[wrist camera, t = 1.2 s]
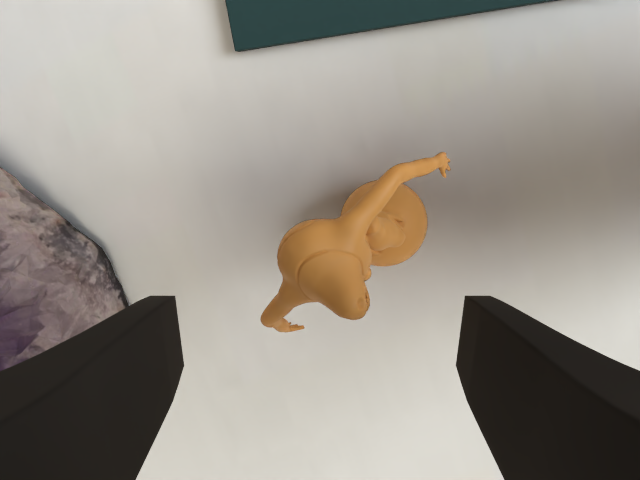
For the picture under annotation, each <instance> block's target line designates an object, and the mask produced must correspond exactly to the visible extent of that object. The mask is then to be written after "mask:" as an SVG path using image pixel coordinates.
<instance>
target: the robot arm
mask: <svg viewBox="0 0 640 480" xmlns="http://www.w3.org/2000/svg"><path fill="white" fill-rule="evenodd" d="M183 367H184V362H183V354H182V346H181V338H180V331H179V323H178V315H177V308H176V300H175V296H149V297H147V298H144V299H142V300H140V301H138V302H136V303H134V304H132V305H130V306H128V307H126V308H125V309H123V310H121V311H119V312H117V313H116V314H114V315H112V316H110V317H108V318H107V319H105V320H103V321H101V322H99V323H98V324H96V325H94V326H92V327H90V328H89V329H87V330H85V331H83V332H81V333H79V334H77V335H75V336H73V337H71V338H69V339H68V340H66V341H64V342H62V343H60V344H58V345H56V346H54V347H52V348H50V349H48V350H46V351H44V352H42V353H40V354H38V355H36V356H34V357H32V358H29V359H27V360H25V361H23V362H21V363H18V364H16V365H14V366H11V367H9V368H7V369H4V370H2V371H0V480H136V478H137V476H138V473H139V471H140V469H141V467H142V465H143V463H144V461H145V459H146V457H147V455H148V453H149V451H150V448H151V446H152V444H153V442H154V440H155V438H156V436H157V434H158V432H159V430H160V428H161V425H162V423H163V421H164V419H165V417H166V415H167V413H168V410H169V408H170V406H171V404H172V402H173V399H174V396H175V393H176V390H177V387H178V384H179V380H180V377H181V374H182V370H183ZM456 367H457V370H458V374H459V377H460V380H461V384H462V387H463V390H464V393H465V396H466V399H467V402H468V404H469V406H470V408H471V410H472V413H473V415H474V417H475V419H476V421H477V423H478V425H479V427H480V430H481V432H482V434H483V436H484V438H485V440H486V442H487V444H488V446H489V448H490V450H491V453H492V455H493V457H494V459H495V461H496V463H497V465H498V467H499V469H500V471H501V473H502V475H503V478H504V480H640V371H639V370H636V369H634V368H631V367H629V366H627V365H624V364H622V363H620V362H618V361H615V360H613V359H611V358H609V357H607V356H605V355H603V354H601V353H598V352H596V351H594V350H592V349H590V348H588V347H586V346H584V345H582V344H580V343H578V342H576V341H574V340H572V339H571V338H569V337H567V336H565V335H563V334H561V333H559V332H557V331H555V330H554V329H552V328H550V327H548V326H546V325H545V324H543V323H541V322H539V321H537V320H536V319H534V318H532V317H530V316H528V315H527V314H525V313H523V312H521V311H519V310H518V309H516V308H514V307H512V306H510V305H508V304H506V303H504V302H503V301H501V300H498V299H496V298H494V297H491V296H465V300H464V308H463V316H462V323H461V331H460V339H459V346H458V354H457V362H456Z"/></svg>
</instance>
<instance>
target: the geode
mask: <svg viewBox="0 0 640 480" xmlns="http://www.w3.org/2000/svg"><path fill="white" fill-rule="evenodd" d="M126 307H128V304H127V302H126V299H125V296H124V292H123V289H122V286H121V284H120V283H119V281H118V280H117V278H116V277H115V274H114V271H113V268H112V266H111V263H110V261H109V260H108V258H107V256H106V255H105V253H104V251H103V250H102V248H101V247H100V246H99V245H97V244H96V243H95V242H94V241H92V240H91V239H90V238H88V237H87V236H85V235H84V234H83V233H81V232H80V231H79V230H77V229H76V228H74V227H73V226H72V225H71V224H70V223H69V222H68V221H67V220H66V219H64V218H63V217H62V216H61V215H59V214H58V213H57V212H55V211H54V210H53V209H52V208H50V207H49V206H48V205H46V204H45V203H44V202H42V201H41V200H39V199H38V198H37V197H36V196H34V195H33V194H32V193H31V192H29V191H28V190H27V189H25V188H24V187H23V186H22V185H21V184H20V183H19V181H18V180H17V179H16V178H15V177H14V176H12V175H11V174H9V173H8V172H6V171H5V170H3V169H2V168H1V167H0V371H2V370H4V369H7V368H9V367H11V366H14V365H16V364H18V363H21V362H23V361H25V360H27V359H29V358H32V357H34V356H36V355H38V354H40V353H42V352H44V351H46V350H48V349H50V348H52V347H54V346H56V345H58V344H60V343H62V342H64V341H66V340H68V339H69V338H71V337H73V336H75V335H77V334H79V333H81V332H83V331H85V330H87V329H89V328H90V327H92V326H94V325H96V324H98V323H99V322H101V321H103V320H105V319H107V318H108V317H110V316H112V315H114V314H116V313H117V312H119V311H121V310H123V309H125V308H126Z"/></svg>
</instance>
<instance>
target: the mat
mask: <svg viewBox="0 0 640 480" xmlns="http://www.w3.org/2000/svg"><path fill="white" fill-rule="evenodd" d="M225 1H226V6H227V11H228V16H229V22H230V27H231V32H232V37H233V42H234V48H235V51H238V52H240V51H246V50H253V49H259V48H265V47H271V46H277V45H284V44H290V43H296V42H302V41H308V40H315V39H321V38H327V37H333V36H339V35H346V34H352V33H358V32H364V31H370V30H377V29H383V28H389V27H395V26H401V25H408V24H414V23H420V22H426V21H432V20H439V19H445V18H451V17H457V16H463V15H470V14H476V13H482V12H488V11H494V10H501V9H507V8H513V7H519V6H525V5H532V4H538V3H544V2H550V1H556V0H225Z"/></svg>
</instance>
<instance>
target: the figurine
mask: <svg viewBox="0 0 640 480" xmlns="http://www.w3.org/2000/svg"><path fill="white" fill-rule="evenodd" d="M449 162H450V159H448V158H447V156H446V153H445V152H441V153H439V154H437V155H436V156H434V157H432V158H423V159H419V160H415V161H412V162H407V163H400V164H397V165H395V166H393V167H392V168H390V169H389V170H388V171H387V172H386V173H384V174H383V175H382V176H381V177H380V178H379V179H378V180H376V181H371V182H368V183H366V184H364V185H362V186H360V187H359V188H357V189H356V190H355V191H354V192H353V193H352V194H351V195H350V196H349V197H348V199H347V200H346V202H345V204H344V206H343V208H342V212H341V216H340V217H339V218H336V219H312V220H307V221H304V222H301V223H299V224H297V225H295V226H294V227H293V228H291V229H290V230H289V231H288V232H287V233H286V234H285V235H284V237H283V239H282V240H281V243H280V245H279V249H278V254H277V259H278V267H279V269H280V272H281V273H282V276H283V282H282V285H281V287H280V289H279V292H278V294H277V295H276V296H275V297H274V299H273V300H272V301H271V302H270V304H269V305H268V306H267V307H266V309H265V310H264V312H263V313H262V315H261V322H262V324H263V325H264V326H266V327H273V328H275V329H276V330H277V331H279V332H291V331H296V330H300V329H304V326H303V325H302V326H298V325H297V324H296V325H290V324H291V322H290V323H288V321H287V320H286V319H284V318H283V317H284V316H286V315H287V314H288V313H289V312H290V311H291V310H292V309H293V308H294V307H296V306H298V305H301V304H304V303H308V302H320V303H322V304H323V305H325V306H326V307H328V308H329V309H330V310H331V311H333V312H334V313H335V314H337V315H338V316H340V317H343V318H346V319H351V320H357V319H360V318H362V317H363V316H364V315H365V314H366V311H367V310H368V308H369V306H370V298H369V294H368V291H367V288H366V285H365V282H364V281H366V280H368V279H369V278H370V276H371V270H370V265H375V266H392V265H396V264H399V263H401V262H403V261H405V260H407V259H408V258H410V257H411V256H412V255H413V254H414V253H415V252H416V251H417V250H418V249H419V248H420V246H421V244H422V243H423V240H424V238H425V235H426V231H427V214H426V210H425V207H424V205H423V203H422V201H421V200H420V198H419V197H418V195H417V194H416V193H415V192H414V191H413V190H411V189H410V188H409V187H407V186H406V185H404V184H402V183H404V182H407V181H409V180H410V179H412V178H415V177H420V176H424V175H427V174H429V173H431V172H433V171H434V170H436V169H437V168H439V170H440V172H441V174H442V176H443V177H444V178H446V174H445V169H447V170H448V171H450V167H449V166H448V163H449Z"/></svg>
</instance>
